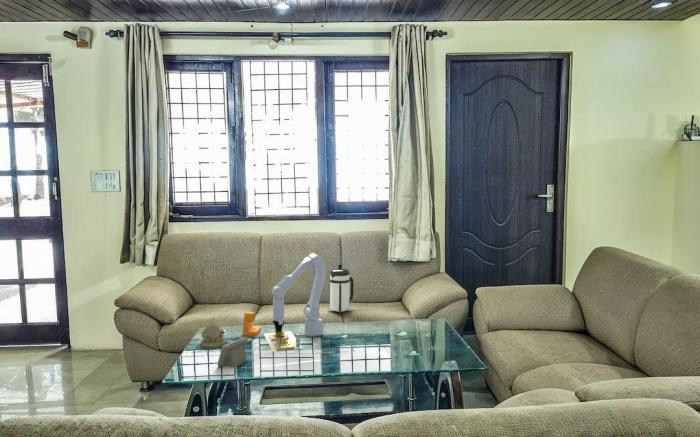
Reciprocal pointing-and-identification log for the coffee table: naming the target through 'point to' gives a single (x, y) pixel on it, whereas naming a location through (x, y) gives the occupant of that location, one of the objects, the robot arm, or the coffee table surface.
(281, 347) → the fixed leaf
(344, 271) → the coffee press
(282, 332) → the loose leaf
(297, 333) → the pin
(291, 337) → the board
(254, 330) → the bracket
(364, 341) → the coffee table surface
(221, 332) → the ceramic model
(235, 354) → the digital clock
